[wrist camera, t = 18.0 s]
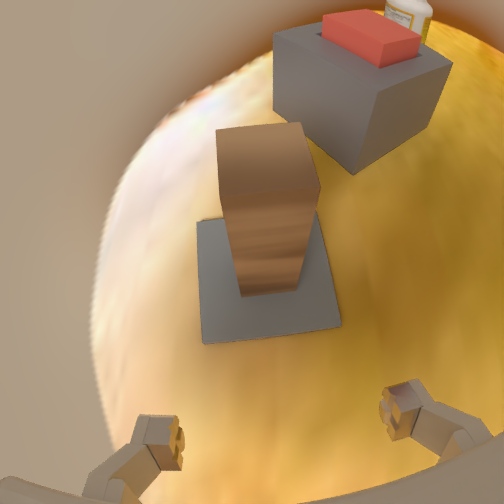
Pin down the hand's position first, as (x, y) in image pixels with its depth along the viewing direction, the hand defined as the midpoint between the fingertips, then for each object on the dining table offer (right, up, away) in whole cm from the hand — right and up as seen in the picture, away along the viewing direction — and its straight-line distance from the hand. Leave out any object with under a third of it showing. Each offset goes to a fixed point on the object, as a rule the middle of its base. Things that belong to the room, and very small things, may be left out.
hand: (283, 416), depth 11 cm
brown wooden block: (0, +5, +11) cm, 12 cm away
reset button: (+9, +23, +13) cm, 28 cm away
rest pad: (0, +5, +11) cm, 12 cm away
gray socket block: (+9, +20, +19) cm, 29 cm away
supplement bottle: (+21, +36, +26) cm, 48 cm away
